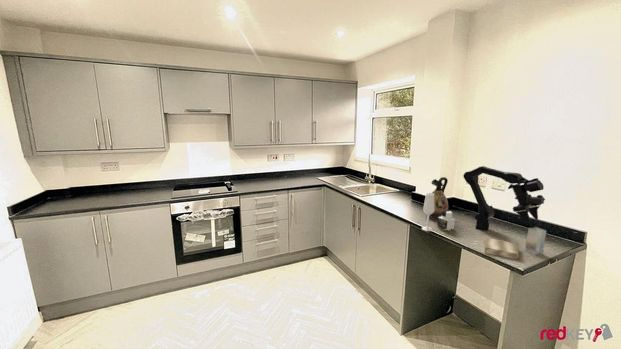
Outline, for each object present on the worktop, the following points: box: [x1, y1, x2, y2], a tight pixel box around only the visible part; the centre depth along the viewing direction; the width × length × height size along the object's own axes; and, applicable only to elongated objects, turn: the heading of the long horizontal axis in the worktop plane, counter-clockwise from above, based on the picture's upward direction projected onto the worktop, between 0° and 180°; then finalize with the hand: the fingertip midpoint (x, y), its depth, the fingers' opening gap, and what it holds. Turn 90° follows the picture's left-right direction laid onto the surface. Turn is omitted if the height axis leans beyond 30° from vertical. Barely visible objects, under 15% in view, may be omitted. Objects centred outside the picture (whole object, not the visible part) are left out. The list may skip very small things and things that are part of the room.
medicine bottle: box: [436, 209, 456, 231], centre depth 168 cm, size 7×7×12 cm
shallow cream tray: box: [483, 237, 519, 260], centre depth 138 cm, size 14×14×3 cm
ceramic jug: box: [429, 177, 449, 219], centre depth 189 cm, size 17×15×30 cm
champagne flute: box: [421, 192, 434, 232], centre depth 166 cm, size 7×7×24 cm
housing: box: [524, 226, 547, 256], centre depth 135 cm, size 5×5×13 cm
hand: (533, 221), depth 143 cm, fingers open, 9 cm apart
